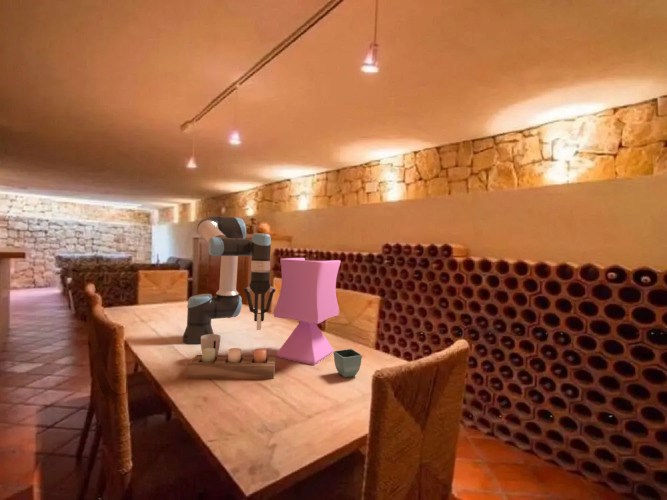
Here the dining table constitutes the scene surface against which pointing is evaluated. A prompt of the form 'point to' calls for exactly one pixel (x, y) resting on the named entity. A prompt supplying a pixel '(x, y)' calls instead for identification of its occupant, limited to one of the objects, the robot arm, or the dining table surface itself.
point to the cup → (210, 342)
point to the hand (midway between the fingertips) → (258, 329)
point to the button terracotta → (260, 355)
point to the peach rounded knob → (234, 355)
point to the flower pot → (347, 362)
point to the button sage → (208, 355)
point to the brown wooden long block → (232, 368)
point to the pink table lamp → (307, 307)
